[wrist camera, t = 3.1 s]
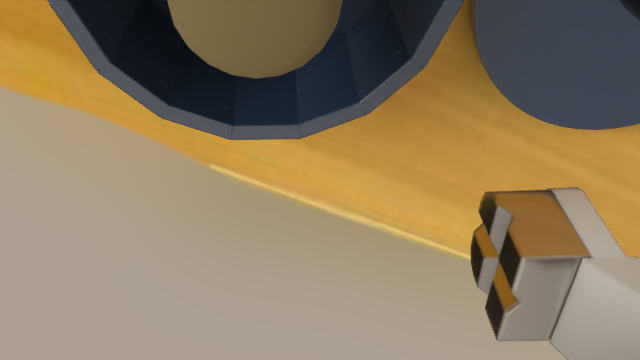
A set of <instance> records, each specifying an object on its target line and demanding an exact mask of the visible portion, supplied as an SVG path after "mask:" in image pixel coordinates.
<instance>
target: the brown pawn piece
mask: <svg viewBox="0 0 640 360" xmlns="http://www.w3.org/2000/svg"><path fill="white" fill-rule="evenodd" d="M167 1H168V5H169V9H170V12H171V16H172V20H173V23H174V26H175V27H176V29H177V31H178V32H179V34H180V35H181V37H182V38H183V40H184V41H185V43H186V44H187V46H188V47H189V48H190V49H191V50H192V51H193V52H194V53H196V54H197V55H198V56H199V57H200V58H201V59H203V60H204V61H205V62H206V63H207V64H209V65H211V66H213V67H215V68H218V69H220V70H222V71H224V72H226V73H229V74H231V75H236V76H242V77H249V78H255V79H257V78H265V77H273V76H281V75H283V74H286V73H288V72H290V71H292V70H295V69H297V68H299V67H302V66H304V65H305V64H306V63H307V62H308V61H309V60H311V59H312V58H313V57H314V56H315V55H316V54H318V53H319V52H320V51H321V50H322V49H323V47H324V46H325V44H326V42H327V41H328V39H329V37H330V36H331V34H332V33H333V31H334V29H335V27H336V25H337V23H338V19H339V15H340V10H341V6H342V2H343V0H167Z"/></svg>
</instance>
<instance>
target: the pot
mask: <svg viewBox="0 0 640 360" xmlns="http://www.w3.org/2000/svg"><path fill="white" fill-rule="evenodd" d="M48 2H49V4H50V6H51V7H52V9H53V10H54V11H55V13H56V14H57V16H58V17H59V19H60V20H61V21H62V23H63V24H64V26H65V27H66V28H67V30H68V31H69V33H70V34H71V36H72V37H73V38H74V40H75V41H76V43H77V44H78V45H79V47H80V48H81V50H82V51H83V52H84V54H85V55H86V57H87V58H88V60H89V61H90V62H91V64H92V65H93V67H94V68H95V69H96V70H97V71H98V73H99V74H101V75H102V76H103V77H105V78H106V79H107V80H109V81H110V82H112V83H113V84H114V85H116V86H117V87H119V88H120V89H121V90H123V91H124V92H125V93H127V94H128V95H130V96H131V97H132V98H134V99H135V100H137V101H138V102H139V103H141V104H142V105H143V106H145V107H146V108H148V109H149V110H150V111H152V112H153V113H155V114H156V115H157V116H159V117H161V118H162V119H166V120H169V121H172V122H175V123H178V124H181V125H185V126H188V127H191V128H194V129H197V130H201V131H204V132H207V133H210V134H213V135H216V136H220V137H223V138H226V139H229V140H230V139H231V140H258V139H301V138H304V137H307V136H310V135H312V134H315V133H318V132H321V131H323V130H326V129H329V128H332V127H334V126H337V125H340V124H343V123H346V122H348V121H351V120H354V119H357V118H359V117H362V116H365V115H367V113H368V114H369V113H370V112H372V111H373V110H374V109H375V108H376V107H378V106H379V105H380V104H381V103H382V102H384V101H385V100H386V99H387V98H389V97H390V96H391V95H392V94H393V93H395V92H396V91H397V90H398V89H400V88H401V87H402V86H403V85H404V84H406V83H407V82H408V81H409V80H411V79H412V78H413V77H414V76H415V75H417V74H418V73H419V72H420V71H421V70H423V68H425V67H426V65H427V64H428V62H429V60H430V58H431V57H432V55H433V53H434V52H435V50H436V48H437V47H438V45H439V43H440V41H441V40H442V38H443V36H444V35H445V33H446V31H447V30H448V28H449V26H450V24H451V23H452V21H453V19H454V18H455V16H456V14H457V12H458V11H459V9H460V7H461V6H462V4H463V2H464V0H343V2H342V6H341V10H340V15H339V19H338V23H337V25H336V27H335V29H334V31H333V33H332V34H331V36H330V37H329V39H328V41H327V42H326V44H325V46H324V47H323V49H322V50H321V51H320V52H319V53H318V54H316V55H315V56H314V57H313V58H312V59H311V60H309V61H308V62H307V63H306V64H305V65H304V66H302V67H299V68H297V69H295V70H292V71H290V72H288V73H286V74H283V75H281V76H273V77H265V78H257V79H255V78H249V77H242V76H236V75H231V74H229V73H226V72H224V71H222V70H220V69H218V68H215V67H213V66H211V65H209V64H207V63H206V62H205V61H204V60H203V59H201V58H200V57H199V56H198V55H197V54H196V53H194V52H193V51H192V50H191V49H190V48H189V47H188V46H187V44H186V43H185V41H184V40H183V38H182V37H181V35H180V34H179V32H178V31H177V29H176V27H175V26H174V23H173V20H172V16H171V12H170V9H169V5H168V1H167V0H48Z"/></svg>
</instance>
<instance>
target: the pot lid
mask: <svg viewBox="0 0 640 360" xmlns="http://www.w3.org/2000/svg"><path fill="white" fill-rule="evenodd" d="M471 24H472V30H473V36H474V41H475V45H476V48H477V51H478V54H479V57H480V60H481V62H482V64H483V66H484V67H485V69H486V71H487V73H488V75H489V77H490V78H491V80H492V82H493V83H494V84H495V85H496V87H497V88H498V89H499V91H500V92H501V93H502V94H503V95H504V96H505V97H506V98H507V99H508V100H509V101H510V102H511V103H512V104H514V105H515V106H516V107H518V108H519V109H521V110H522V111H524V112H525V113H527V114H529V115H531V116H533V117H535V118H537V119H539V120H542V121H544V122H547V123H551V124H554V125H557V126H562V127H568V128H574V129H589V130H599V129H613V128H620V127H625V126H631V125H636V124H639V123H640V0H471Z"/></svg>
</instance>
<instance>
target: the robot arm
mask: <svg viewBox="0 0 640 360" xmlns="http://www.w3.org/2000/svg"><path fill="white" fill-rule="evenodd" d="M479 213H480V216H481V218H482V221H483V223H482V224H481V225H480V226H479V227H478V228H477V229H476V230H475V231H474V233H473V238H472V243H471V265H472V270H473V275H474V278H475V281H476V284H477V287H478V288H480V289H481V290H482V291H483V292H485V293H486V294H487V295H488V299H487V302H486V306H485V310H486V312H487V315H488V318H489V321H490V323H491V326H492V329H493V331H494V334H495V337H496V340H497V341H542V340H543V341H546V340H550V344H551V345H552V346H553V347H554V348H555V349H557V350H558V351H559V352H560V353H561V354H562V355H563V356H564V357H565V358H566V359H567V360H640V258H638V257H627V256H626V255H625V253H624V252H623V250H622V248H621V247H620V245H619V244H618V242H617V241H616V239H615V238H614V236H613V235H612V233H611V232H610V230H609V229H608V227H607V226H606V224H605V223H604V221H603V220H602V218H601V217H600V215H599V214H598V212H597V211H596V209H595V207H594V206H593V204H592V203H591V201H590V200H589V198H588V197H587V195H586V194H585V192H584V191H583V190H581V189H579V188H578V187H573V188H553V189H546V190H521V191H492V192H485V194H484V195H483V197H482V199H481V203H480V207H479Z"/></svg>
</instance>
